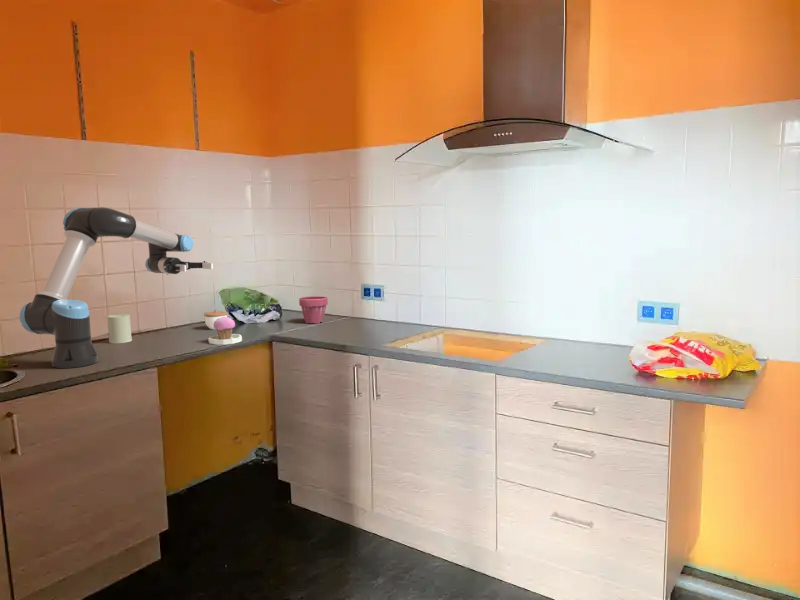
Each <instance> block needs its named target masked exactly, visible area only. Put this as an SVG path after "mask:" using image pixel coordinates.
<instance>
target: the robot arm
mask: <svg viewBox="0 0 800 600" xmlns="http://www.w3.org/2000/svg"><path fill="white" fill-rule="evenodd" d="M62 225H63V230H64V233H63V235H64V237H65V238H66V239H65V240H64V243H63V245H62V247H61V250H60V252H59V254H58V256H57V258H56V260H55V262H54V265H53V267H52V269H51V271H50V273H49V276H48V278H47V280H46V282H45V284H44V287H43V288H42V291H40V292H38V293H35V295H34V298H33V300H32V302H31V301H30V302H28V303H26V304H24V305H23V306H22V307H21V309H20V312H19V321H20V323H21V326H22V327H23V329H25V331H27V332H29V333H32V334H36V335H54V341H55V346H54V349H53V353H52V357H51V366H52V367H53V368H54V369H55V368H56V369H69V368H81V367H86V366H90V365H94V364H97V363H98V361H99V356H98V353H97V351H96V348H95V347H94V344H93V341H92V337H91V336H92V334H91V321H90V314H91V313H90V310H89V305H88V303H86V302H84V301H83V300H78V299H68V296H69V295H70V292H71V289H72V287H73V285H74V283H75V281H76V278H77V275H78V273H79V271H80V269H81V266H82V265H83V262H84V259H86V255H87V253H88V251H89V248H90V247H91V248H92V247H93V246H95V245H96V243H97V240H98V238H104V237H117V238H123V239H129V238H132V239H134V240H138V241H142V242H145V243H148V254H149V255H148V258H147V259H146V261H145V262H144V263H145V268H146V269H147V271H148V272H150V273H155V274H166V275H167V276H168V275H169V274H171V275H177V274H180V272H187V270H191V269H204V270H205V269H206V270H213V269H214V265H213V262H207V261H205V260H203V261H202V262H197V261H196V262H195V261H193V262H192V261H191V262H190V261H182V260H181V259H180V258H178V257H173V256H170V257H169V256H168V255H167V252H168V253H169V252H175V253H176V252H178V253H180V252H181V253H186V252H190V251H192V249H193V247H194V241H193V240H194V239H193V238H192V237H191V236H190V235H187V234H183V235H182V234H178V233H174V232H171V231H169V230H166V229H163V228H161V227H157V226H155V225H152V224H148V223H145V222H143V221H140V220H137V219H136V218H135V217H134V216H133V215H131V214H127V213H124V212H121V211H119V210H115V209H113V208H110V207H103V206H102V207H77V208H73V209H70V210H68V212H67V213H66V214H65V215H64V217H63V220H62Z"/></svg>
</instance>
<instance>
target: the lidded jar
mask: <svg viewBox="0 0 800 600" xmlns="http://www.w3.org/2000/svg"><path fill="white" fill-rule="evenodd" d="M203 316H204V322H205V325H206V326H207V328H209V330H213V331H215V330H216V329H215V328H214V322H215V321H216V320H217V319H218V318H221V317H228V312H227V311H223V310H217V309H214V310H213V311H207V312H204V313H203ZM216 331H217V330H216Z"/></svg>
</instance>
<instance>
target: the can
mask: <svg viewBox="0 0 800 600" xmlns="http://www.w3.org/2000/svg"><path fill="white" fill-rule="evenodd" d="M106 318H107V326H108V327H107V328H108V343H109V344H113V345H114V344H126V343H129V342H133V338H132V327H131V326H132V325H131V315H130V313H120V314H119V313H118V314H117V313H116V314H110V315H107V317H106Z"/></svg>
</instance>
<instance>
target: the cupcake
mask: <svg viewBox="0 0 800 600" xmlns="http://www.w3.org/2000/svg"><path fill="white" fill-rule="evenodd" d="M235 327H236V323H235V320H233V318H231V317H229V316H227V317H221V318H218V319H217V320H216V321H215V322H214V328H215V329H216V331H217V335H218V337H219V339H220V340H224V339H230V338H231V334H233V330H234V328H235Z"/></svg>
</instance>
